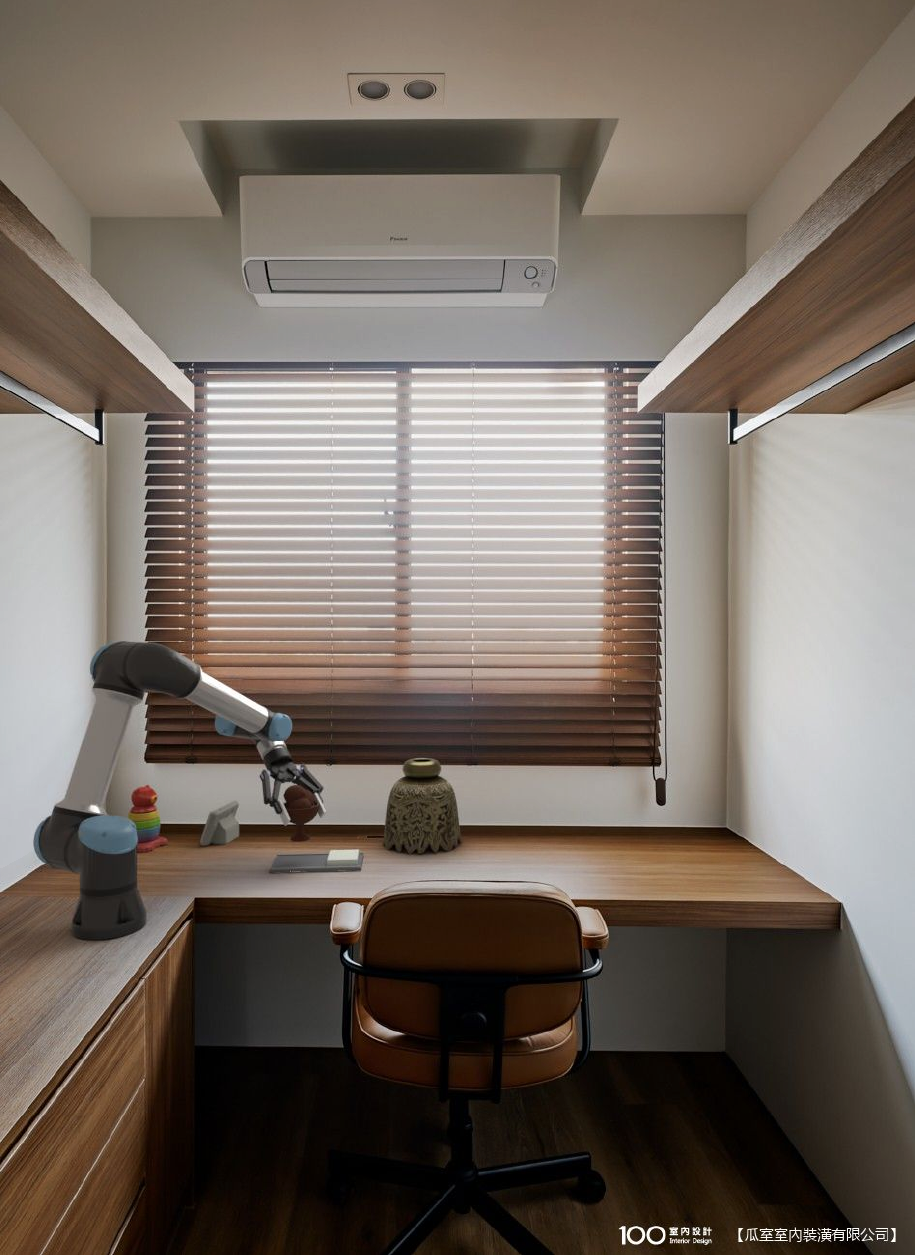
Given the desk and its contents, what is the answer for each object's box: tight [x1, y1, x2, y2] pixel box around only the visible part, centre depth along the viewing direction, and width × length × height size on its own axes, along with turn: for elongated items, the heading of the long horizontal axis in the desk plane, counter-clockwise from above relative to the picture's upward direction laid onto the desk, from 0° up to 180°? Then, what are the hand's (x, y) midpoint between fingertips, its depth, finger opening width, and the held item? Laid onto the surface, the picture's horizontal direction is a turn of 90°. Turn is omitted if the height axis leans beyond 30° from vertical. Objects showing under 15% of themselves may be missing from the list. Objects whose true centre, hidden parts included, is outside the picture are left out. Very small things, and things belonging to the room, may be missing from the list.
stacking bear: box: [127, 784, 169, 853], centre depth 238 cm, size 11×10×18 cm
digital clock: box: [199, 799, 240, 847], centre depth 244 cm, size 16×9×11 cm, turn 158°
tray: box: [269, 851, 364, 874], centre depth 220 cm, size 24×13×1 cm, turn 94°
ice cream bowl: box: [283, 784, 320, 843], centre depth 220 cm, size 11×11×15 cm
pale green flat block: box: [327, 849, 360, 866], centre depth 221 cm, size 8×10×2 cm
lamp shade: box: [382, 757, 462, 855], centre depth 240 cm, size 23×23×25 cm
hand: (305, 818), depth 218 cm, fingers closed on ice cream bowl, 11 cm apart
